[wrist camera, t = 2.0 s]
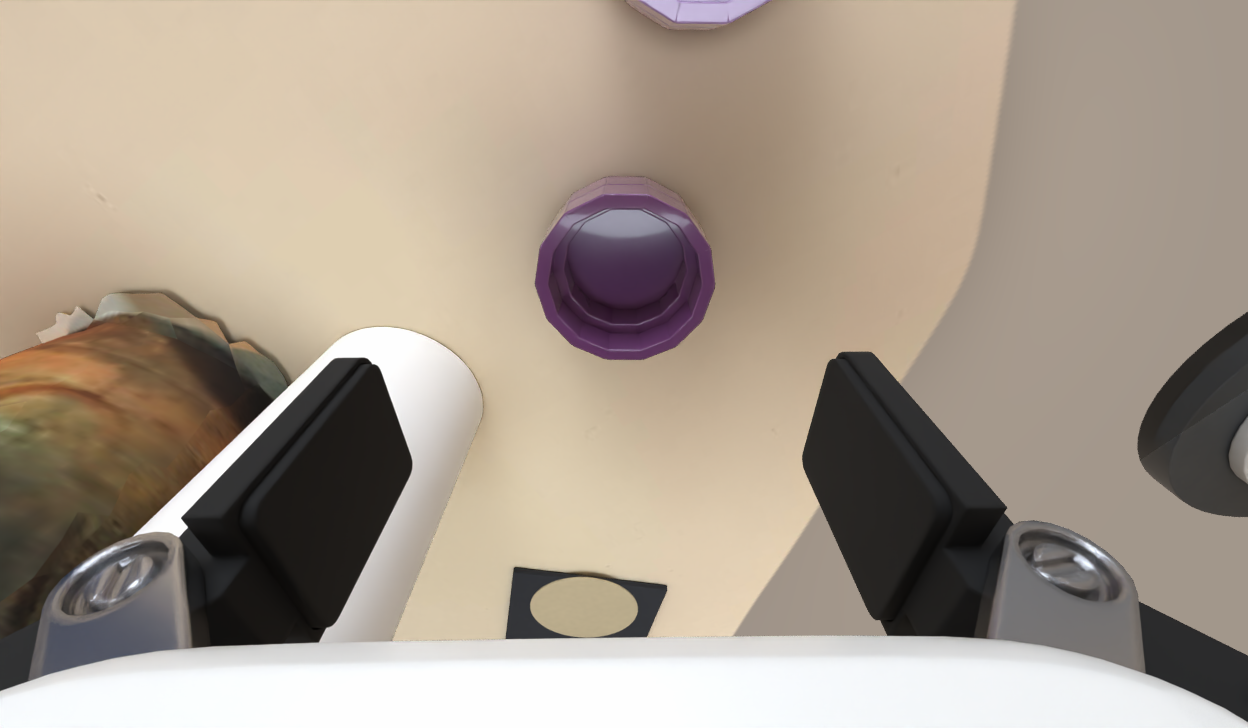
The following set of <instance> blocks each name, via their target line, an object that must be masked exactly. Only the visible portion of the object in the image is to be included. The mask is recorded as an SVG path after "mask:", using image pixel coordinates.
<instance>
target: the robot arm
mask: <svg viewBox="0 0 1248 728" xmlns="http://www.w3.org/2000/svg"><path fill="white" fill-rule="evenodd" d="M802 461H803V468H804V470H805V473H806V475H807V477H808V479H809V482H810V484H811V486H812V488H813V491H814V493H815V495H816V497H817V499H818V502H819V504H820V506H821V508H822V510H823V513H824V515H825V517H826V519H827V521H828V524H829V526H830V528H831V530H832V532H833V535H834V537H835V539H836V541H837V543H838V546H839V548H840V550H841V552H842V555H843V557H844V559H845V561H846V563H847V565H848V568H849V570H850V572H851V574H852V576H853V579H854V581H855V583H856V586H857V588H858V590H859V592H860V594H861V596H862V599H863V601H864V603H865V605H866V608H867V610H868V612H869V613H870V615H871V616H872V617H873V618H874V619H875V620H880V621H881V623H882V625H883V627H884V629H885V631H886V634H887V636H725V637H631V638H556V639H486V640H432V641H379V642H326V643H319V641H320V639H321V637H322V635H323V633H324V632H325V630H326V628H327V627H331V626H333V625H334V624H335V622H336V621H337V620H338V618H339V616H340V614H341V612H342V610H343V608H344V606H345V604H346V602H347V600H348V598H349V596H350V594H351V592H352V590H353V588H354V586H355V584H356V582H357V581H358V579H359V577H360V575H361V573H362V571H363V569H364V567H365V565H366V563H367V561H368V559H369V557H370V555H371V553H372V551H373V549H374V547H375V545H376V543H377V541H378V539H379V537H380V535H381V533H382V531H383V529H384V527H385V525H386V523H387V521H388V519H389V517H390V515H391V513H392V511H393V509H394V507H395V505H396V503H397V501H398V499H399V497H400V495H401V493H402V491H403V489H404V487H405V485H406V483H407V481H408V479H409V477H410V475H411V472H412V465H413V463H412V457H411V454H410V451H409V448H408V446H407V443H406V440H405V437H404V434H403V431H402V429H401V426H400V423H399V420H398V417H397V415H396V412H395V409H394V406H393V403H392V401H391V398H390V395H389V392H388V389H387V386H386V384H385V381H384V378H383V375H382V372H381V370H380V368H379V367H378V366H377V365H375V364H372V363H371V361H370V360H369V359H367V358H365V357H358V358H335V359H333V360H332V361H331V362H330V363H329V364H328V365H327V366H326V367H325V368H324V369H323V370H322V371H321V372H320V373H319V374H318V375H317V376H316V377H315V378H314V379H313V380H312V381H311V382H310V383H309V385H308V386H307V387H306V388H305V389H304V390H303V391H302V392H301V393H300V394H299V395H298V396H297V397H296V398H295V399H294V400H293V401H292V402H291V403H290V404H289V405H288V406H287V407H286V409H285V410H284V411H283V412H282V413H281V414H280V415H279V416H278V417H277V418H276V419H275V420H274V421H273V422H272V423H271V424H270V425H269V426H268V427H267V428H266V429H265V430H264V431H263V433H262V434H261V435H260V436H259V437H258V438H257V439H256V440H255V441H254V442H253V443H252V444H251V445H250V446H249V447H248V448H247V449H246V450H245V451H244V452H243V453H242V454H241V455H240V457H239V458H238V459H237V460H236V461H235V462H234V463H233V464H232V465H231V466H230V467H229V468H228V469H227V470H226V471H225V472H224V473H223V474H222V475H221V476H220V477H219V478H218V479H217V481H216V482H215V483H214V484H213V485H212V486H211V487H210V488H209V489H208V490H207V491H206V492H205V493H204V494H203V495H202V496H201V497H200V498H199V499H198V500H197V501H196V502H195V503H194V505H193V506H192V507H191V508H190V509H189V510H188V511H187V512H186V513H185V514H184V515H183V516H182V517H181V519H182V521H183V522H184V523H185V524H186V526H187V527H188V528H187V529H186V530H185V531H184V532H183V533H182V534H181V536H180V537H177V536H175V535H173V534H172V533H170V532H151V533H145V534H139V535H136V536H133V537H130V538H127V539H124V540H122V541H119V542H117V543H115V544H113V545H111V546H109V547H107V548H105V549H103V550H101V551H98V552H97V553H95V554H94V555H92V556H91V557H89V558H88V559H86V560H85V561H83V562H82V563H80V564H79V565H77V566H76V567H75V568H74V569H73V570H71V571H70V572H69V573H68V574H67V575H66V576H64V577H63V578H62V579H61V580H60V581H59V583H58V584H57V585H56V586H55V587H54V589H53V590H52V591H51V592H50V593H49V595H48V597H47V599H46V601H45V604H44V606H43V608H42V612H41V618H40V620H38V621H36V622H34V623H32V624H30V625H28V626H26V627H24V628H22V629H20V630H18V631H16V632H14V633H12V634H10V635H8V636H6V637H4V638H2V639H0V728H1248V656H1247V655H1245V654H1243V653H1241V652H1239V651H1237V650H1235V649H1233V648H1231V647H1229V646H1227V645H1225V644H1223V643H1221V642H1219V641H1217V640H1215V639H1213V638H1211V637H1209V636H1207V635H1205V634H1203V633H1201V632H1199V631H1197V630H1195V629H1193V628H1191V627H1189V626H1187V625H1185V624H1183V623H1181V622H1179V621H1177V620H1175V619H1173V618H1171V617H1169V616H1167V615H1165V614H1163V613H1161V612H1159V611H1157V610H1155V609H1153V608H1151V607H1149V606H1147V605H1145V604H1143V603H1141V602H1139V601H1138V593H1137V590H1136V587H1135V584H1134V582H1133V580H1132V578H1131V577H1130V575H1129V574H1128V573H1127V572H1126V570H1125V569H1124V567H1123V566H1122V565H1121V564H1120V563H1119V562H1118V561H1117V560H1116V559H1114V558H1113V557H1112V556H1111V555H1110V554H1109V553H1108V552H1106V551H1105V550H1104V549H1102V548H1101V547H1099V546H1098V545H1096V544H1095V543H1094V542H1092V541H1091V540H1089V539H1087V538H1085V537H1083V536H1081V535H1079V534H1077V533H1075V532H1073V531H1071V530H1069V529H1066V528H1064V527H1060V526H1058V525H1055V524H1052V523H1047V522H1039V521H1034V520H1033V521H1021V522H1018V523H1016V524H1013V523H1012V522H1011V521H1010V519H1009V518H1008V517H1007V516H1006V515H1005V514H1004V512H1005V510H1006V509H1007V507H1006V506H1005V504H1004V503H1003V502H1002V501H1001V500H1000V499H999V498H998V496H997V495H996V494H995V493H994V492H993V491H992V489H991V488H990V487H989V486H988V485H987V484H986V483H985V482H984V480H983V479H982V478H981V477H980V476H979V475H978V473H977V472H976V471H975V470H974V469H973V468H972V466H971V465H970V464H969V463H968V462H967V461H966V460H965V458H964V457H963V456H962V455H961V454H960V453H959V451H958V450H957V449H956V448H955V447H954V446H953V445H952V443H951V442H950V441H949V440H948V439H947V438H946V437H945V435H944V434H943V433H942V432H941V431H940V430H939V429H938V427H937V426H936V425H935V424H934V423H933V422H932V420H931V419H930V418H929V417H928V416H927V415H926V414H925V412H924V411H923V410H922V409H921V408H920V407H919V405H918V404H917V403H916V402H915V401H914V400H913V399H912V397H911V396H910V395H909V394H908V393H907V392H906V391H905V389H904V388H903V387H902V386H901V385H900V384H899V382H898V381H897V380H896V379H895V378H894V377H893V376H892V374H891V373H890V372H889V371H888V370H887V369H886V367H885V366H884V365H883V364H882V363H881V362H880V361H879V359H878V358H877V357H876V356H875V355H874V354H873V353H872V352H841V353H839V354H838V356H837V357H836V359H831V360H830V361H829V362H828V365H827V368H826V371H825V375H824V379H823V382H822V386H821V389H820V393H819V397H818V400H817V404H816V407H815V411H814V415H813V418H812V422H811V425H810V429H809V433H808V436H807V440H806V443H805V447H804V451H803V455H802ZM1229 462H1230V467H1231V469H1232V470H1233V472H1234V473H1235V475H1236V476H1237V477H1239V478H1240V479H1241V480H1243V481H1244V482H1246V483H1247V484H1248V416H1247V418H1246V419H1245V420H1244V421H1243V423H1242V424H1241V425H1240V426H1239V428H1238V430H1237V432H1236V434H1235V436H1234V438H1233V440H1232V442H1231V447H1230V451H1229Z"/></svg>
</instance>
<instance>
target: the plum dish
mask: <svg viewBox="0 0 1248 728" xmlns="http://www.w3.org/2000/svg"><path fill="white" fill-rule="evenodd" d="M535 287H536V290H537V293H538V296H539V299H540V302H541V304H542V307H543V310H544V313H545V316H546V319H547V320H548V321H549V322H550V323H551V324H552V325H553V326H554V327H555V328H556V329H557V330H558V331H559V332H560V333H561V334H562V336H563V337H564V338H565V339H566V340H567V341H568V342H569V343H570V344H571V345H573V346H574V347H577V348H579V349H582V350H584V351H586V352H589V353H591V354H594V355H596V356H599V357H601V358H603V359H607V360H642V359H643V360H644V359H646V358H649V357H652V356H654V355H657V354H659V353H662V352H664V351H667V350H669V349H672V348H675V347H676V346H678V345H679V344H680V343H681V342H682V341H683V340H684V339H685V338H686V337H687V336H688V335H689V334H690V333H691V332H692V331H693V330H694V329H695V328H696V327H697V326H698V325H699V324H700V323H701V322H702V320H703V319H704V316H705V313H706V310H707V308H708V305H709V302H710V300H711V297H712V294H713V292H714V289H715V277H714V269H713V260H712V252H711V248H710V245H709V243H708V241H707V239H706V236H705V234H704V232H703V230H702V228H701V226H700V223H699V222H698V221H697V219H696V218H695V216H694V215H693V213H692V212H691V210H690V209H689V208H688V206H687V205H686V203H685V202H684V200H683V199H682V197H681V196H680V195H679V194H677V193H675V192H674V191H672V190H670V189H668V188H666V187H664V186H662V185H660V184H658V183H657V182H655V181H653V180H651V179H649V178H645V177H616V176H609V177H604V178H602V179H600V180H598V181H596V182H594V183H592V184H590V185H588V186H586V187H584V188H582V189H580V190H578V191H576V192H574V193H573V194H571V196H570V197H569V199H568V200H567V201H566V203H565V204H564V206H563V207H562V208H561V210H560V211H559V212H558V214H557V215H556V217H555V218H554V219H553V221H552V222H551V224H550V226H549V228H548V231H547V233H546V235H545V237H544V239H543V241H542V244H541V246H540V249H539V256H538V264H537V271H536V278H535Z"/></svg>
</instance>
